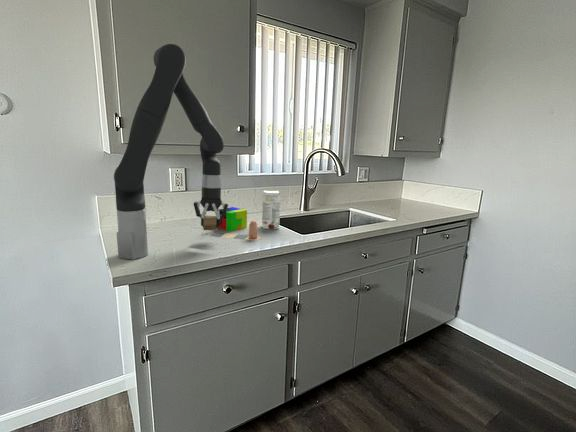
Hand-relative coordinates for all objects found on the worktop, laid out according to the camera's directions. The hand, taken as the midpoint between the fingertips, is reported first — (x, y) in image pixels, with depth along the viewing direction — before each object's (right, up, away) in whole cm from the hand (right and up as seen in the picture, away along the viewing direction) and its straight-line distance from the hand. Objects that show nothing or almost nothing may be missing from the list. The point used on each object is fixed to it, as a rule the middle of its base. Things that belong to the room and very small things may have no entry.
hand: (210, 227), depth 134 cm
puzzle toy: (+4, -2, +25) cm, 25 cm away
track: (+8, -6, +10) cm, 14 cm away
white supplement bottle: (+23, -2, +28) cm, 37 cm away
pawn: (+16, -5, +8) cm, 19 cm away
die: (0, -1, 0) cm, 1 cm away
